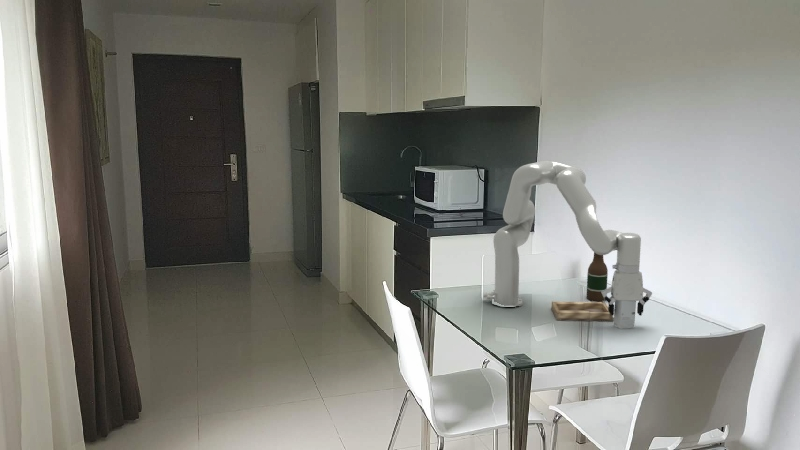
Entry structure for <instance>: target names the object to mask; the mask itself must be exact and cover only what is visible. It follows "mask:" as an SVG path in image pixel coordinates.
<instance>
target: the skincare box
mask: <svg viewBox="0 0 800 450" xmlns="http://www.w3.org/2000/svg"><path fill="white" fill-rule="evenodd" d="M636 311H637V301H618V300H616V301H615V302H614V315H613V317H614V322H613V326H615V327H616V328H617V329H620V330H621V329H631V327H633V328H635V321H636Z"/></svg>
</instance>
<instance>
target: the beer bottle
mask: <svg viewBox="0 0 800 450" xmlns="http://www.w3.org/2000/svg"><path fill="white" fill-rule="evenodd" d="M608 272H609V271H608V266H607V264H606V262H605V260H604V255H598V254H596V253H595V252H594V251H593V257H592V261H591V263H590V264H589V265H588V268H587V278H586V281H587V282H586V299H587V300H589V302H605V301H606V300H605V299H604V297H603V295H602V293H601V292H602V291H603V290H605V289H607V288H608V275H609V273H608Z"/></svg>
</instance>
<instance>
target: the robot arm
mask: <svg viewBox="0 0 800 450" xmlns="http://www.w3.org/2000/svg"><path fill="white" fill-rule="evenodd" d="M586 181H587V180H586V174H585V172H584V171H583V170H582V169H581V168H578V167H575V166H572V165H568V164H563V163H561V162H557V161H551V160H541V161H537V162H533V163H527V164H524V165H521V166H520V167H518V168H517V169H516V170H515V171H514V173H513V174H512V177H511V180H510V184H509V188H508V192H507V195H506V200H505V203H504V207H503V211H502V219H503V221H504V222H505V223H506V224H507V225H505V226H503V227H501V228H499V229H498V230H497V231H496V232H495V234H494V236H493V248H494V290H493V291H491V292H482V296H483V298H486V300H491V299H494V302H497V303H499V304H501V305H504V306H519V307H521V306H522V305H523V300H522V298H519V293H520V287H519V286H520V280H519V279H520V256H519V250H518V248H519V247H521V246H523V245H524V244H526V242H527V241H528V239H529V237H530V234H531V231H532V226H533V223H534V219H535V215H536V206H535V205H534V203H533V201H532V200H531V199H530V198H531V196H532V188H533V187H534V186H539V185H544V184H553V185H555V186H556V188H557V189H558V191H559V193H560V194H561V196H562V198H564V200H565V201H566V203H567V205H568V206H569V208H570V209H571V211H572V212H573V214H574V217H575V220H576V224H577V227H578V229H579V232H580V234H581V236H582V237H583V240H584V241H585V242H586V244H587V245H588V247H589V248H590V249H591V251H592V252H593V253H594V252H595V253H596V254H598V255H603V256H607V255H608V254H610V253H612V252H613V251H617V252H616V253H617V254H616V263H615V264H612V265H611V267H612V269H613V270H614V269H615V270H614V271H613V276H612V281H611V286H610V287H607V289H605V290H603V291H602V292H601V293H602V295H603V297H604V299H605V300H604V301H605V302H607V303H608V305H607V306H608V311H609V312H610V314H611V315H613V316H614V309H615V301H616V300H618V301H636V302H637V304H636V313H637V314H638V316H640V317H641V316H642V315H643V313H644V306H645V305H646V303H647V302H649V300H650V298H651V297H652V295H653V292H652V291H651V290H649V289H647V288H645V287H644V283H643V281H644V280H643V274H642V272H641V271H640V266H641V265H640V262H641V246H642V245H641V243H642V242H641V241H642V237H641V235H640V234H638V233H635V232H622V231H619V230H618V231H617V230H613V229H605V230H604V229H603V228H602V226H601V224H600V222H599V220H598V217H597V202H596V200H595V199H594V197H593V196H592V194H591V192H590V191H589V190H588V188H587V187H586V185H585V184H586ZM609 293H610V295H611V296H610V297H608V294H609ZM644 293H645V294H646V295H645V296H644ZM521 304H522V305H521ZM520 305H521V306H520Z"/></svg>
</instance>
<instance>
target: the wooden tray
mask: <svg viewBox="0 0 800 450" xmlns="http://www.w3.org/2000/svg"><path fill="white" fill-rule="evenodd" d="M608 306H609V305H608V304H607V303H606V301H602V302H595V301H551V307H550V308H551V309H550V310H551V311H552V313H553V315H554V318H555V320H556V322H557V321H561V322H563V321H565V322H567V321H569V322H570V321H571V322H572V321H573V322H613V323H614V315H611V314H610V312H609V311H608Z"/></svg>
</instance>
